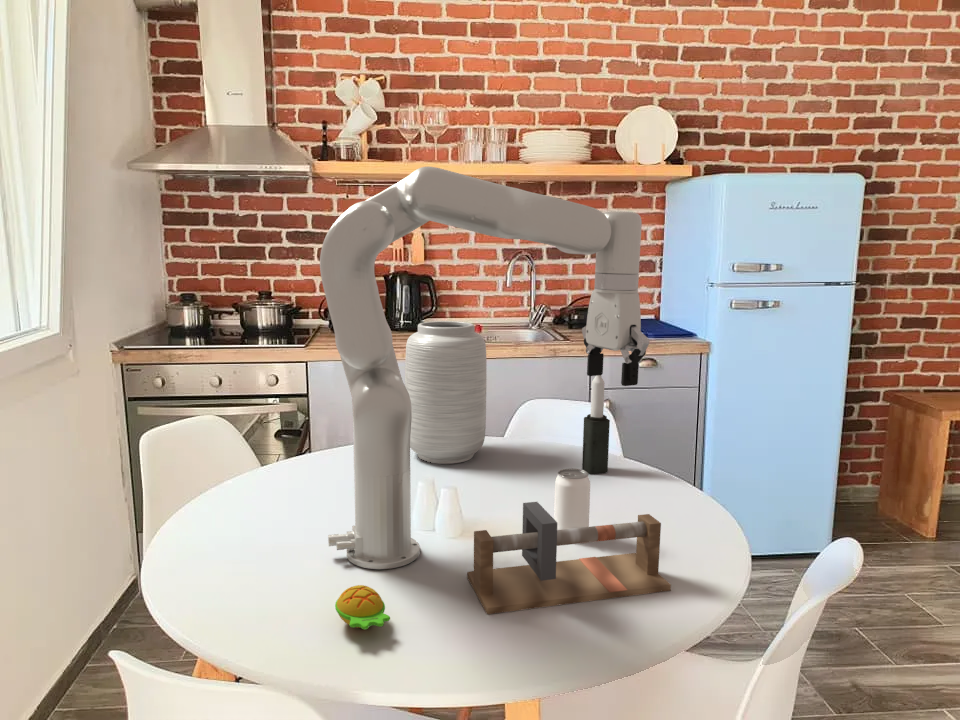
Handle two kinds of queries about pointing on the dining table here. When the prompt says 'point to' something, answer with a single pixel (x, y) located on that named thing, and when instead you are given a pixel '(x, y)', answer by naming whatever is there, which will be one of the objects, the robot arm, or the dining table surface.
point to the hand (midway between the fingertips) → (611, 380)
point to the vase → (446, 391)
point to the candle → (596, 432)
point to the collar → (540, 540)
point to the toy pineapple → (361, 607)
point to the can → (572, 499)
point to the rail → (568, 568)
